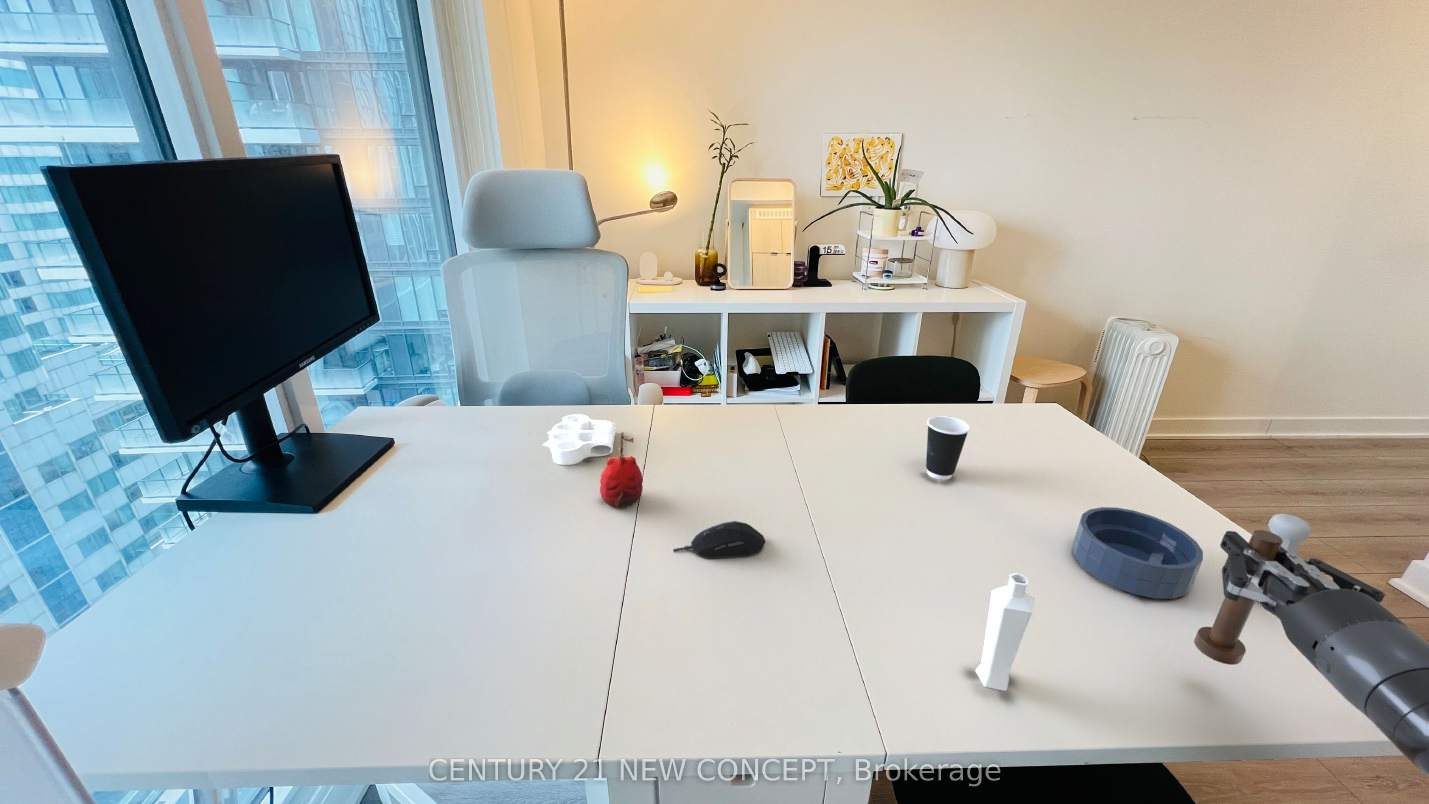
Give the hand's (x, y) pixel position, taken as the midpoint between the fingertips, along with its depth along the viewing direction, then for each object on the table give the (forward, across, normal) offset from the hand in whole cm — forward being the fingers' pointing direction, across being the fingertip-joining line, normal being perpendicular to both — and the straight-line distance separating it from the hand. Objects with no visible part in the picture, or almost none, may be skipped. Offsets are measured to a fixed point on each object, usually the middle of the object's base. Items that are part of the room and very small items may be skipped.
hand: (1242, 539), depth 67 cm
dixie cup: (+46, +22, +20) cm, 54 cm away
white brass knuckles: (+44, +96, +19) cm, 108 cm away
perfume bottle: (-6, +24, +20) cm, 32 cm away
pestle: (-3, 0, +14) cm, 14 cm away
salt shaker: (+18, -19, +20) cm, 33 cm away
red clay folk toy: (+24, +81, +19) cm, 87 cm away
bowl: (+21, -2, +20) cm, 29 cm away
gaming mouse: (+14, +62, +19) cm, 66 cm away
